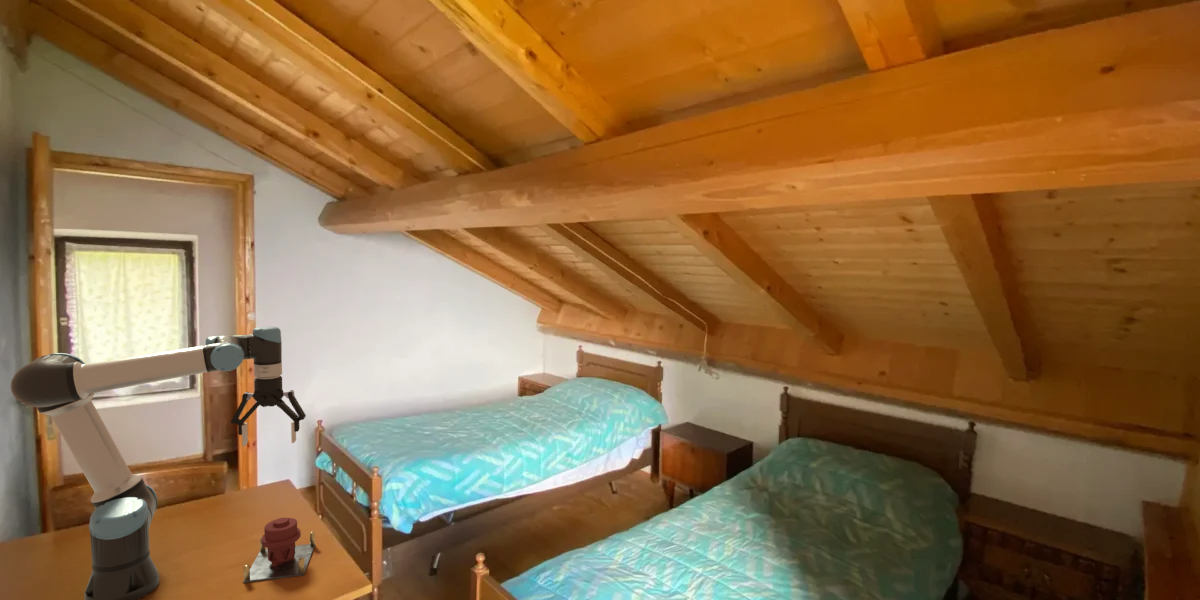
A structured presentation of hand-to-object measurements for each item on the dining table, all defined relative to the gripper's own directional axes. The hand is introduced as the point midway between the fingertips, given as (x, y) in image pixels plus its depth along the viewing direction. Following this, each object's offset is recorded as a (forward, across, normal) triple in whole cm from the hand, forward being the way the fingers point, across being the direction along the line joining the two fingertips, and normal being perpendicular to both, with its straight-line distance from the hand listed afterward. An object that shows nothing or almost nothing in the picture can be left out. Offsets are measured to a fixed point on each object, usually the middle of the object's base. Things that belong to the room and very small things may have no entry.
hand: (269, 443), depth 177 cm
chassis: (+31, +6, -17) cm, 36 cm away
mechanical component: (+30, +7, -17) cm, 35 cm away
